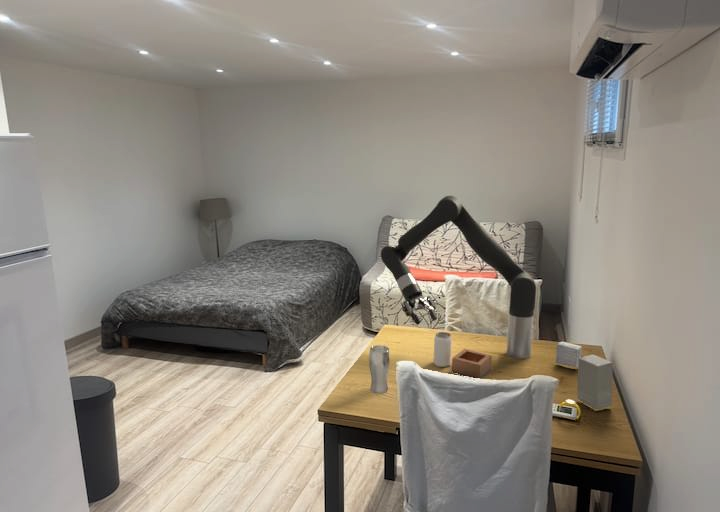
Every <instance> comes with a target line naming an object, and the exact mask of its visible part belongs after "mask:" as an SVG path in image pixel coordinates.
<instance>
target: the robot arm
mask: <svg viewBox="0 0 720 512" xmlns="http://www.w3.org/2000/svg"><path fill="white" fill-rule="evenodd" d="M449 222H451V223H452V224H453V225H455V227H457V229H458V230H459V231H460V232H461V234H462V235H463V237H464V239H465V240H466V242H467V244H468V246H469V247H470V248H471V249H472V250H473V252H474V253H475V254H476V255H477V257H479V258H480V259H481V260H482V261H483V262H484V263H485V264H487V265H488V266H489V267H491V268H492V269H494V270H495V271H497V272H498V273H499V274H500V275H501V277H503V279H505V281H506V282H507V283H508V285H509V286H510V297H509V298H510V299H509V308H508V309H509V311H508V327H507V329H508V330H507V342H506V355H507V356H508V357H510V358H513V359H516V360H526V359H529V358H530V357H531V352H532V341H533V340H532V338H533V325H534V312H535V307H536V296H537V295H536V293H537V286H536V282H535V279H534V278H533V276H532V275H531V274H529V273H528V272H527V271H526V270H525V269H523V268H522V267H521V266H520V265H519V264H518V263H516V262H515V260H513V259H512V257H511V256H510V255H509V254H508V252H507V251H506V250H505V249H504V247H503V246H502V245H501V244H500V243H499V242H498V241H497V239H496V238H495V237H494V236H493V235H492V234H491V233H490V232H489V231H488V230H487V229H486V228H484V226H483V225H482V224H480V223H479V222H478V221H477V219H475V218H474V217H473V216H472V214H470V212H469V211H468V209H467V208H466V207H465V205H463V203H462V201H460V200H459V198H458V197H457V196H453V195H446V196H444V197H442V198H441V199H440V200H439V201H438V203H437V204H436V205H435V207H434V208H433V209H432V210H431V212H430V213H429V214H428V215H427V216H426V217H425V218H423V219H422V220H421V221H420V222H419V223H416V224H415V225H414V226H413V227H411V228H410V229H408V231H406V232H405V233H404V234H403V235H401V236H400V237H399V238H398V240H397V243H398V244H397V245H396V246H391V245H386V246H383V247H382V248H381V251H380V258H381V260H382V262H383V264H384V265H385V266H386V268H387V269H388V270H389V272H390V273H391V274H392V275H393V278H394V280H395V282H396V285H397V286H398V288H399V290H400V292H401V294H402V296H403V298H404V300H403V301H402V303H401V307H402V309H403V312H404V314H405V316H406V317H411V319H412V320H413V323H414V324H416V326H418V325H420V324H421V319H420V318H419V315H418V314H417V311H419V310H420V311H421V310H423V311H425V312H428V314H429V316H430V318H431V321H433V322H435V321H436V320H437V319H438V316H437V314H436V312H435V310H436V308H437V305H436V304H435V302H434V300H433V298H432V297H431V295H428V296H427V297H424V295H423V292H422V290H421V287H420V286H419V283H418V282H417V280H416V278H415V277H414V275H413V274H412V272H411V270H410V268H409V267H408V265H407V264H406V263H404V262H403V261H404V260H405V259H406V257H407V256H408V255H409V253H410V252H411V251H412V250H414V249H415V248H416V247H417V246H418V245H420V244H421V243H422V242H423V241H424V240H425V239H427V238H428V237H429V236H430V235H431V234H432V233H433V232H435V231H436V230H437V229H440V227H442V226H444V225H445V224H447V223H449Z"/></svg>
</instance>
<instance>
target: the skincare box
mask: <svg viewBox="0 0 720 512" xmlns="http://www.w3.org/2000/svg"><path fill="white" fill-rule="evenodd" d="M613 364H614V363H613V362H611V361H609V360H607V359H605V358H603V357H601V356H598V355H595V354H590V355H589V354H588V355H585V356H581V357H580V358H579V363H578V370H577V371H578V372H577V399H579V400H580V401H582V402H583V403H585V404H587V405H589V406H591V407H592V408H594V409H601V408H604V407H608V406H611V407H612V395H613V369H614V368H613Z"/></svg>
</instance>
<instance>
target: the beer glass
mask: <svg viewBox="0 0 720 512" xmlns="http://www.w3.org/2000/svg"><path fill="white" fill-rule="evenodd" d="M390 359H391V356H390V347H388V346H386V345H381V344H377V345H372V346H370V347H369V357H368V361H369V362H368V364H369V370H370V378H371V382H370V389H369V390H370V392H371V393H373V394H377V395H381V394H386V393H387V392H388V391H389V388H388V387H389V386H388V374H389V371H390V369H389V368H390V361H391V360H390Z"/></svg>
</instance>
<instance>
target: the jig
mask: <svg viewBox="0 0 720 512" xmlns="http://www.w3.org/2000/svg"><path fill="white" fill-rule="evenodd" d="M492 358H493V357H492V354H489V353H488V354H487V353H483V352H478V351H474V350H471V349H466V348H463V349H462V350H461V351H460V352H459V353H457V354H456V355H455V356H453V357H451V373H452V372H453V373H458V374H460V375H463V376H462V377H464V376H469V377H473V378H482V379H483V378H484V377H486V375H488V373H490V372H491V371H492ZM453 373H452V374H453ZM460 375H459V376H460Z"/></svg>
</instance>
